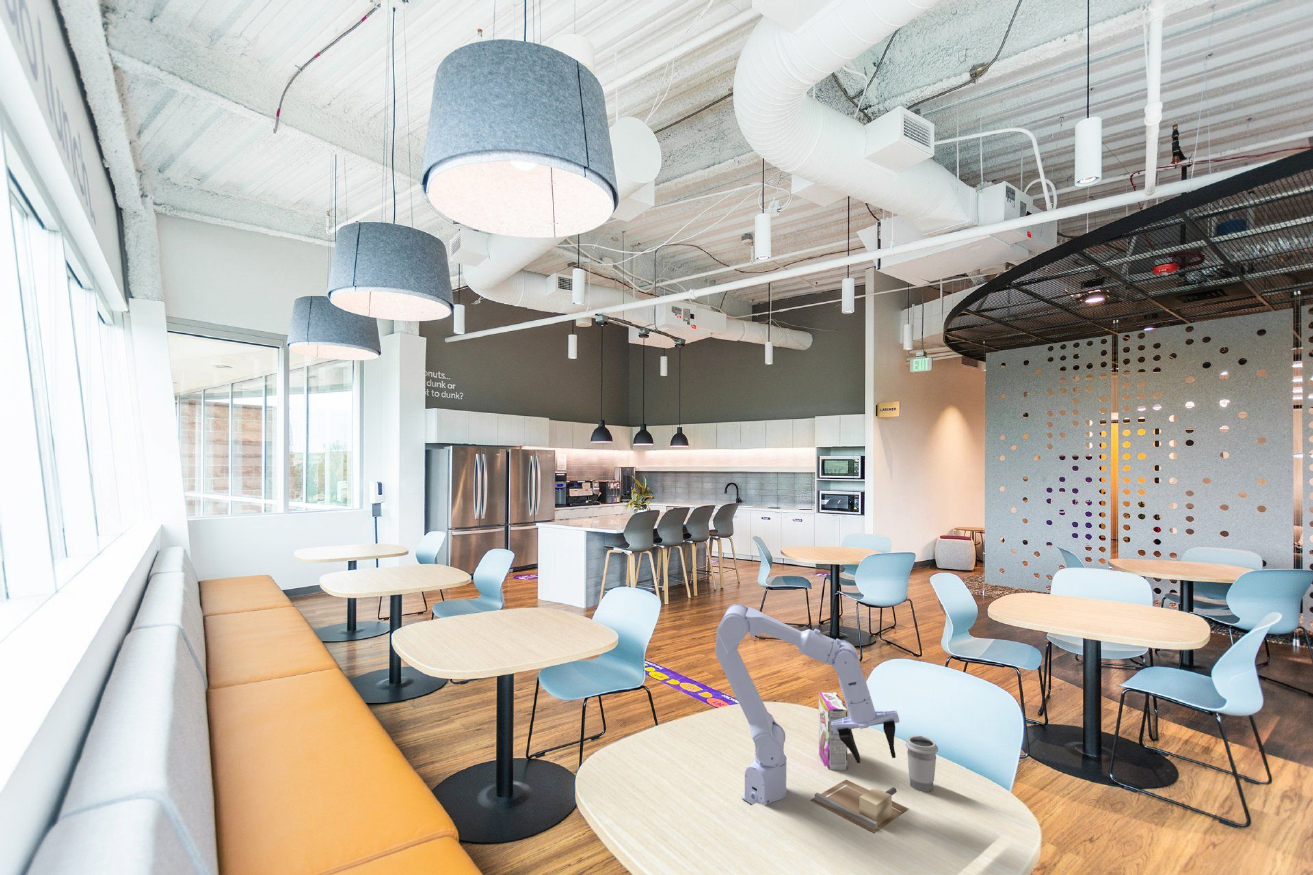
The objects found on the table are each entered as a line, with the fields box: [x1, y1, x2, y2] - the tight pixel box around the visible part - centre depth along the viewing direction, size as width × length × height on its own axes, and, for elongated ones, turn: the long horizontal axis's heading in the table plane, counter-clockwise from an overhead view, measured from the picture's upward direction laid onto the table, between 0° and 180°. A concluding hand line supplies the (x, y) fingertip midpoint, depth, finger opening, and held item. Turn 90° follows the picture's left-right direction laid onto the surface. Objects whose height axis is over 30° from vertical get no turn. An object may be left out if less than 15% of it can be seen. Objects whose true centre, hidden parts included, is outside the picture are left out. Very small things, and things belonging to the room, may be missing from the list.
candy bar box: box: [818, 691, 848, 771], centre depth 167 cm, size 11×5×16 cm, turn 179°
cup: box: [905, 735, 939, 793], centre depth 154 cm, size 7×7×12 cm
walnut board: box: [809, 779, 910, 834], centre depth 146 cm, size 14×16×3 cm
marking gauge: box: [859, 787, 898, 826], centre depth 143 cm, size 10×4×4 cm, turn 130°
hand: (876, 758), depth 146 cm, fingers open, 7 cm apart
